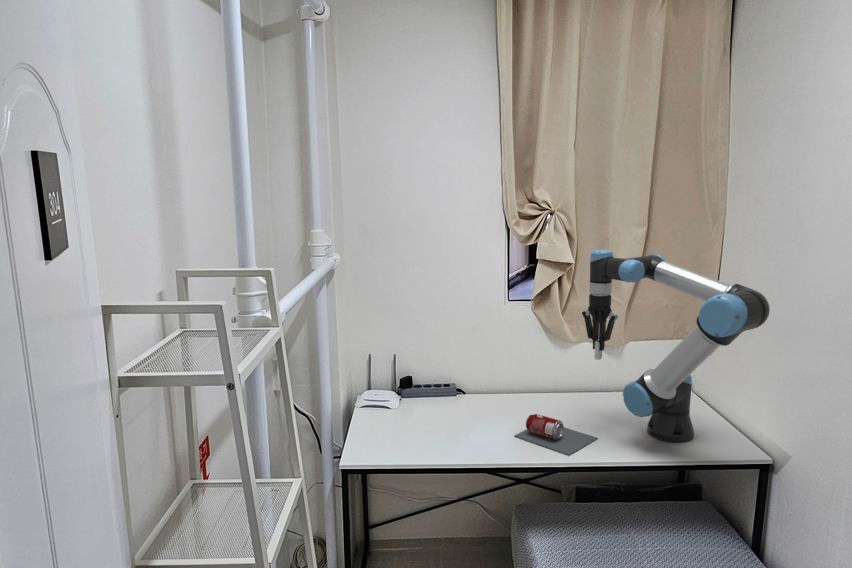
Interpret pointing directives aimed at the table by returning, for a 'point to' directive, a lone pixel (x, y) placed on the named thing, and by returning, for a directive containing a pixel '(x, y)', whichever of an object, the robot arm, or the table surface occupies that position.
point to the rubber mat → (559, 441)
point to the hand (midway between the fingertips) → (598, 358)
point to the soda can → (545, 426)
